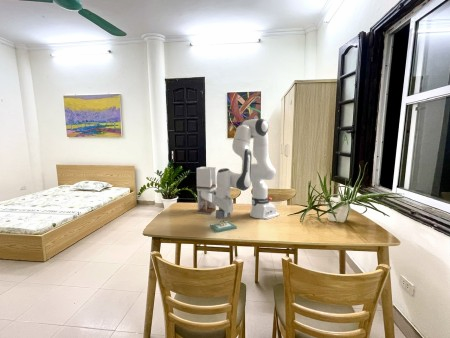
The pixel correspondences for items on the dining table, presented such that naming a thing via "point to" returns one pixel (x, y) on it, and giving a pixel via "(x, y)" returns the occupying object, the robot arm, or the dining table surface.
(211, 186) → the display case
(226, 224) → the header pins
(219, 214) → the block
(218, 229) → the header board
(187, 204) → the dining table surface
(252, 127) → the robot arm
